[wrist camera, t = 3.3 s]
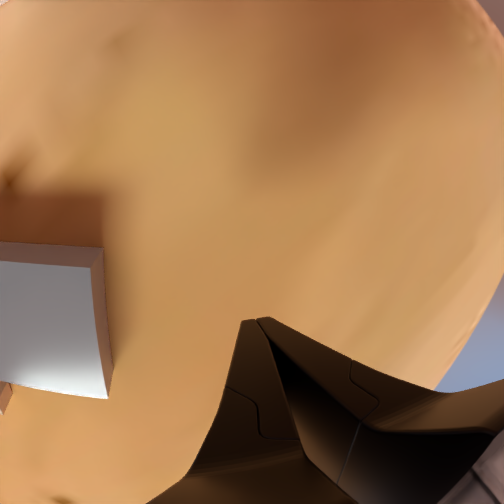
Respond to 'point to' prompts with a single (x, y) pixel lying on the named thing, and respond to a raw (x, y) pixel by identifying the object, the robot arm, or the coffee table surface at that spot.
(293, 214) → the coffee table surface
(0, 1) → the jar
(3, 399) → the dock
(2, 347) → the slate tile
